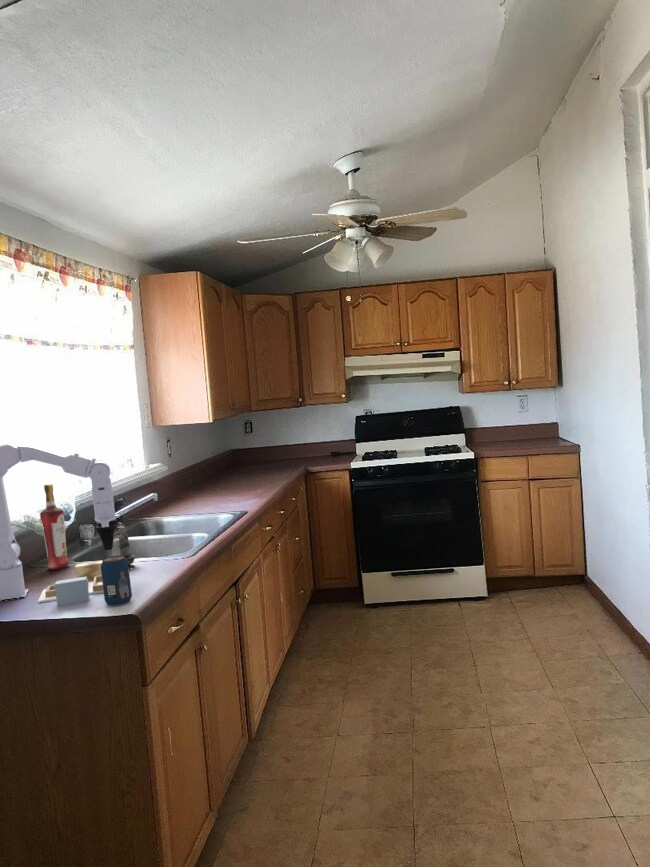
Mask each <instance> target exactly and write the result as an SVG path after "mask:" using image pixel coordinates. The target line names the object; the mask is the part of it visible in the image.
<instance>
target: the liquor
mask: <svg viewBox="0 0 650 867" xmlns="http://www.w3.org/2000/svg"><path fill="white" fill-rule="evenodd" d="M43 487H44V488H43V489H44V493H45V507H46V508H45V509H44V510H42V511H41V512H40V513H39V516H40V521H41V520H42V523H43V527H44V534H43V538H44V543H45V550H46V557H47V562H48V564H47V566H46V567H48V568H49V569H50V570H51V571H56V570H57V571H58V570H62V569H65V568H66V567H67V566H68V565H69V563H70V561H69V560H68V551H67V540H66V525H65V514H64V509H63V508H61V507H57V505H56V502H55V501H56V500H55V498H54V486H53V483H48V484H44V485H43ZM42 523H41V524H42Z"/></svg>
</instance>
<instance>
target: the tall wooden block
mask: <svg viewBox="0 0 650 867" xmlns="http://www.w3.org/2000/svg"><path fill="white" fill-rule="evenodd" d="M101 564H102V560H98V561H92V562H85V563H79V564H78V563H77V564H75V570H74V571H75V576H76V578H80V577H86V576H87V579H88V582H93V581H94V577H95V576H100V575H102V574H101Z"/></svg>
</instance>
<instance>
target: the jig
mask: <svg viewBox="0 0 650 867" xmlns="http://www.w3.org/2000/svg"><path fill="white" fill-rule="evenodd" d="M87 582H88V591H89V596H90V595H95V594H96V595H97V594H100V593H101V594H102V593H103V594H104V591H103V583H102V575H100V576H95V577H94V581H88V579H87ZM54 601H57V599H56V591H55V584H51V585H48V586H47V587H46V588H45V589H43V590H42V592H41V594H40V596H39V598H38V600H37V603H38V604H41V603H40V602H42V603H47V602H54Z"/></svg>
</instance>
